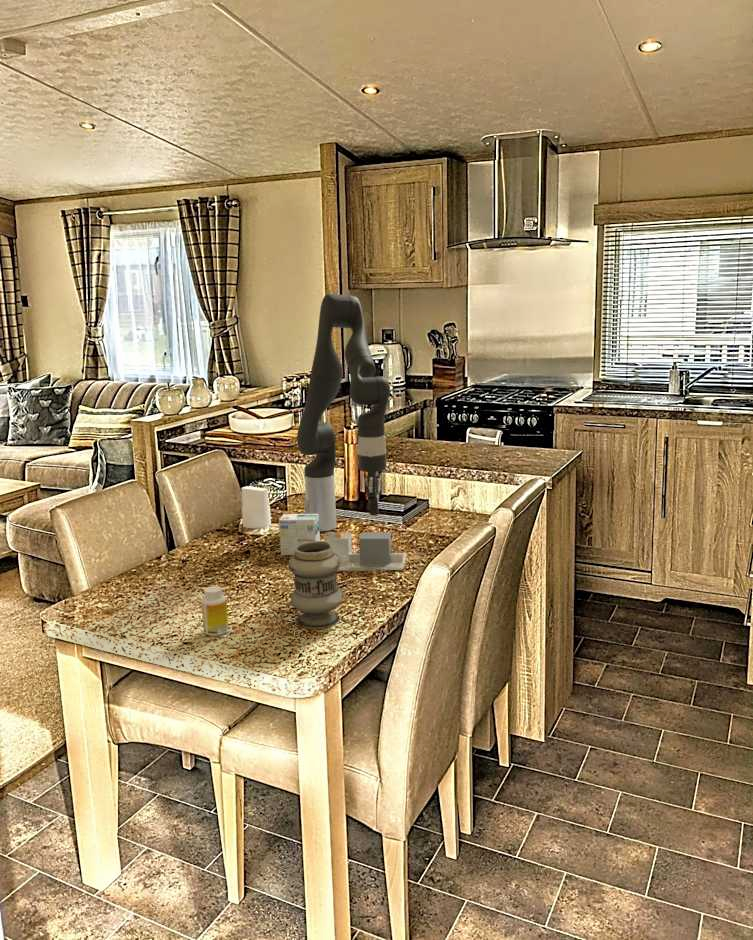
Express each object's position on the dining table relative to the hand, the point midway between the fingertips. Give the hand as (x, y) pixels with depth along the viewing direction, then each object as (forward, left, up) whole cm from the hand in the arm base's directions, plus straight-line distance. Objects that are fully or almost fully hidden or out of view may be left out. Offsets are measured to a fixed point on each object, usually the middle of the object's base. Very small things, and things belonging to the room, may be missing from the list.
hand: (374, 514), depth 231 cm
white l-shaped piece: (-3, 0, -14) cm, 14 cm away
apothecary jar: (-9, -40, -14) cm, 43 cm away
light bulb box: (-23, +10, -14) cm, 29 cm away
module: (0, 0, -13) cm, 13 cm away
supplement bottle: (-31, -47, -14) cm, 58 cm away
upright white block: (-43, +38, -14) cm, 59 cm away
